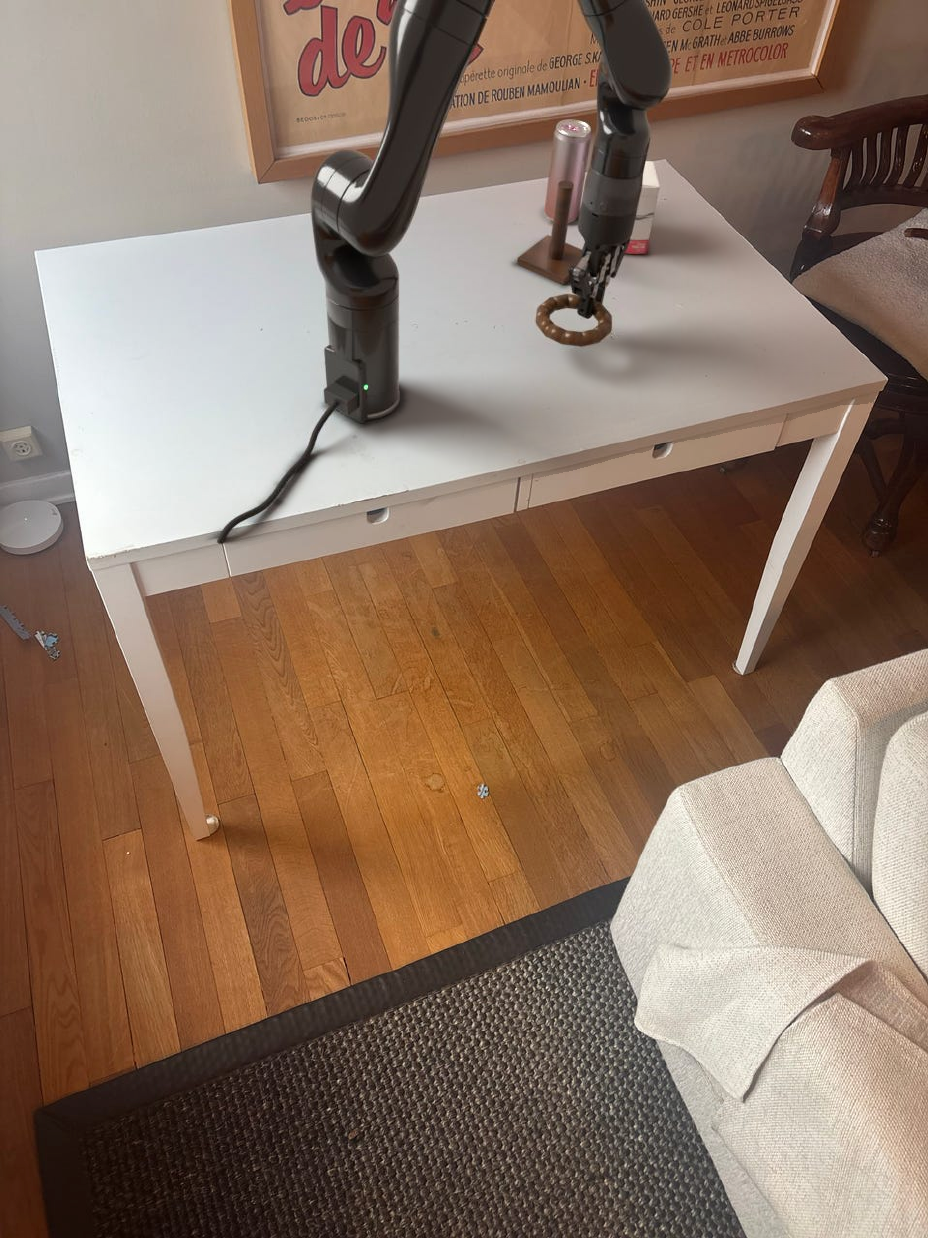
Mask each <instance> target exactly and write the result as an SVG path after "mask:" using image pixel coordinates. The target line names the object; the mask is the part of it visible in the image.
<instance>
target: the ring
mask: <svg viewBox="0 0 928 1238" xmlns="http://www.w3.org/2000/svg"><path fill="white" fill-rule="evenodd" d="M579 299H580V296H579V295H576V294H573V293H563V294H559V295H554V296H550V297H548V298H547V299H546V300H544V301H543V302H542V303H541V304H539V305H538V306H537V308H536V313H535V325H536V326H537V328H538V329H539V330H540V332H541V333H542V334H543V336H545V337H546V338H547V339H549V340H552V341H553V342H556V343H558V344H560V345H564V346H570V347H571V346H572V347H580V348H581V347H586V346H592V345H596V344H599V343H601V342H602V341H603V340H604V339H605V338H606V337H608V336H609V335H610V334H611V332H612V331H613V315H612V314H611V313H610V311H609V310H608V309H607V307H606V306H604V305H603V304H604V303H603V304H601V303H600V302H597V301H595V304H594V309H593V315H592V317H594V318H595V320H596V321H597V325H596V326H595V327H594V328H593V329H588V330H584V331H577V330H568V329H565V328H563V327H561V326H558V325H557V324H555V323H554V322H553V321H552V319H551V315H552V314H553V313H554V312H556V311H561V310H565V309H568V310H569V309H570V310H578V304H579Z"/></svg>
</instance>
